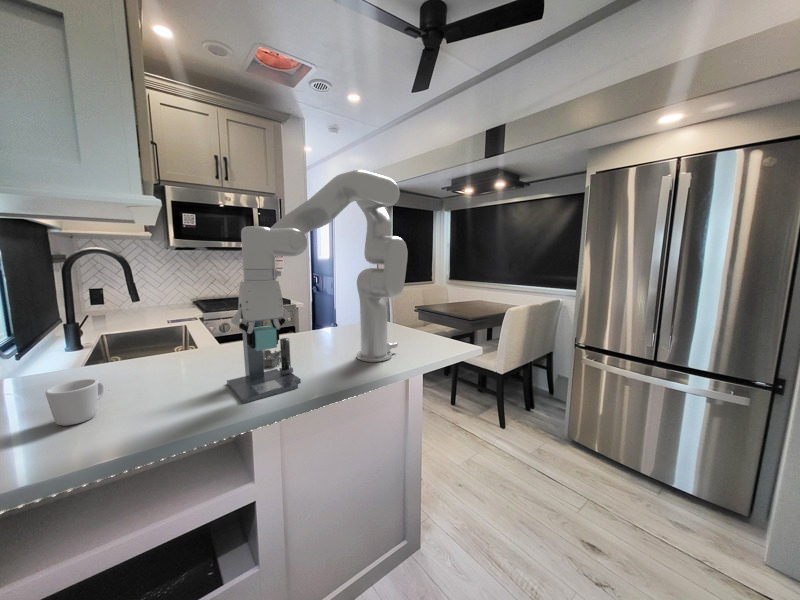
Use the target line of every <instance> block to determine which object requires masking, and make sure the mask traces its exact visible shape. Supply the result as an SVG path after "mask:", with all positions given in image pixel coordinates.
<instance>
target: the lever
mask: <svg viewBox="0 0 800 600" xmlns="http://www.w3.org/2000/svg"><path fill="white" fill-rule="evenodd" d="M279 343H280V345H279V347H280V351H281V362H280V367H279V368H278V370H279V371H280V373H282V374H283V375H284V374H288V373H292V374H293V373H294V368H293V367H292V366H291V365H292V364H291V348H290V347H291V345H290V343H291V342H290V338H288V337H284V338H283V337H282V338H279Z"/></svg>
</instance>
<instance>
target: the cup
mask: <svg viewBox="0 0 800 600" xmlns="http://www.w3.org/2000/svg"><path fill="white" fill-rule="evenodd" d="M103 395H104V384H103V382H101V381H99V380H97V379H94V378H93V379H92V378H86V379H85V378H83V379H77V380H76V379H75V380H71V381H68V382H63V383H60V384H56V385H54V386H52V387H50V388H48V389H46V391H45V397H46V399H47V403H48V405H49V408H50V411H51V414H52V418H53V421H54V422H55V424H57V425H58V426H63V427H64V426H73V425H77V424H80V423H81V424H82V423H84V422H87V421H89V420H90V419H92V418H95V416H96V415H97V413H98V411H99V400H100V399H102V397H103Z"/></svg>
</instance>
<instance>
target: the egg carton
mask: <svg viewBox="0 0 800 600" xmlns="http://www.w3.org/2000/svg"><path fill="white" fill-rule="evenodd" d="M265 358H266V359H265ZM263 365H264V367H265V366H267V367H271V366H272V367H271V368H276V367H278V366H277V365H280V366H281V349H280V350H278V351H277V350H274V352H272V350H271V349H266V350H263ZM275 366H276V367H275ZM265 368H266V367H265Z"/></svg>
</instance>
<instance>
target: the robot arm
mask: <svg viewBox="0 0 800 600" xmlns="http://www.w3.org/2000/svg"><path fill="white" fill-rule="evenodd" d="M400 193H401V192H400V188H399V185H398V184H397V182H396V181H395V180H393V179H392V178H391V177H388V176H385V175H382V174H378V173H374V172H370V171H369V170H363V169H353V170H351V171H350V170H349V171H347V172H346V171H345V172H344V173H343V172H342V173H339V174H338V175H336V176H335V177H333V178H332V179H330V181H328V182H327V183H326V184H325V185H324V186H323V187H322V188H321V189H319V190H318V191H317V192H315V194H313V195H312V196H311V197H309V199H308V200H306V201H305V202H303V203H301V204H300V205H299V206H298V207H296V208H294V209H293V210H292V211H290V212H288V213H286V214H285V215H284V216H283V217H282V218H280V219H278V221H276V222H275V223H274V224H273V225H272V226H271V227H267V226H261V225H257V226H256V225H252V226H251V225H249V226H244V227H242V229H241V232H240V238H241V253H242V271H243V272H242V273H243V281H241V282H240V283H239V288H238V306H237V307H238V308H237V309H238V310H237V312H235V314H234V315H233V316H232V318H231V319H230V323H232V324H233V325H235V326H237V327H239V328H240V329H243V330H244V331H246V334H247V345H249V346H250V347H251V348H252V349H254V348H255V334H254V333H253V328H254V324H255V321H261V322H262V321H270V323H271V327H273V328H276V336H277V345H278V344H279V341H280V329H281V328H282V326H284V325H283V324H284V323H285V322H286V321H287V320H288V319H289V318H290V317H291V316H292V314H291V313H290V312H289V311H288V310H287V308H286V307H285V306H284V301H283V295H282V290H281V285H280V282H279V280H277V279H278V277H281V276H282V272H281V271H280V270H277V268H276V257H297V256H299V255H302V254H303V253H304V252H305V250H306V249H307V247H308V239H307V235H306V234H307V233H310V232H312V231H314V230H317V229H320V228H322V227H324V226H326V225H328V224H330V223H332V222H333V220H335V218H337V216H338V215H340V213H341V212H342V211H344V210H345V208H347V207H348V206H349V205H350V204H351V203H353V202H356V204H357V206H358V207H359V208H360V209H361V211H362V213H363V214H364V216H365V218H366V234H365V242H364V243H365V244H364V252H363V253H364V259H365V261H366V262H368V263H369V264H372V265H376V266H377V265H379V266H380V265H382V266H383V268H378V267H377V268H376V267H375V268H374V267H373V268H371V267H370V268H366V269H363V270H361V271H360V272H359V274H358V275H357V278H356V286H357V292H358V297H359V298H358V299H359V309H360V310H359V311H360V313H359V316H360V317H359V320H360V321H359V323H360V350H359V351H358V352H357V353H356V358H357V359H358V360H360V361H362V362H367V363H368V362H369V363H375V362H376V363H377V362H384V361H387V360H389V359H391V358H392V357H393V354H392V351H391V350H392V349H395V348H398V346H399V343H398V342H397V341H395V342H392V343H391V342H388V305H387V301H386V299H385V298H388V299H390V298H391V299H393V298H397V297H399V296H400V295H401V294H402V293H403V291H404V286H405V280H406V273H407V264H408V255H409V254H408V252H409V251H408V248H407V243H406V241H404V239H403V238H401V237H399V236H397V235H392V220H391V217H390V214H389V213H388V211H387V210H386V207H387V208H388V207H391V206H394V205H395V204H397V203H398V200H399V199H400V195H401V194H400ZM240 319H243V320H245V321H246V325H245V324H243V323H242V321H240Z"/></svg>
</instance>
